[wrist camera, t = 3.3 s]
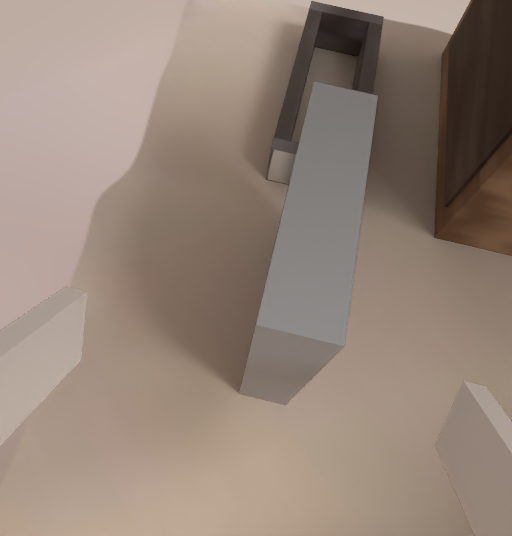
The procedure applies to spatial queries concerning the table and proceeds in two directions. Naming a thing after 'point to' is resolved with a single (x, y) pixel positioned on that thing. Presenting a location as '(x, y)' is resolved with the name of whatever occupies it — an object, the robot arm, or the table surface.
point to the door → (313, 245)
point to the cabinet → (451, 112)
